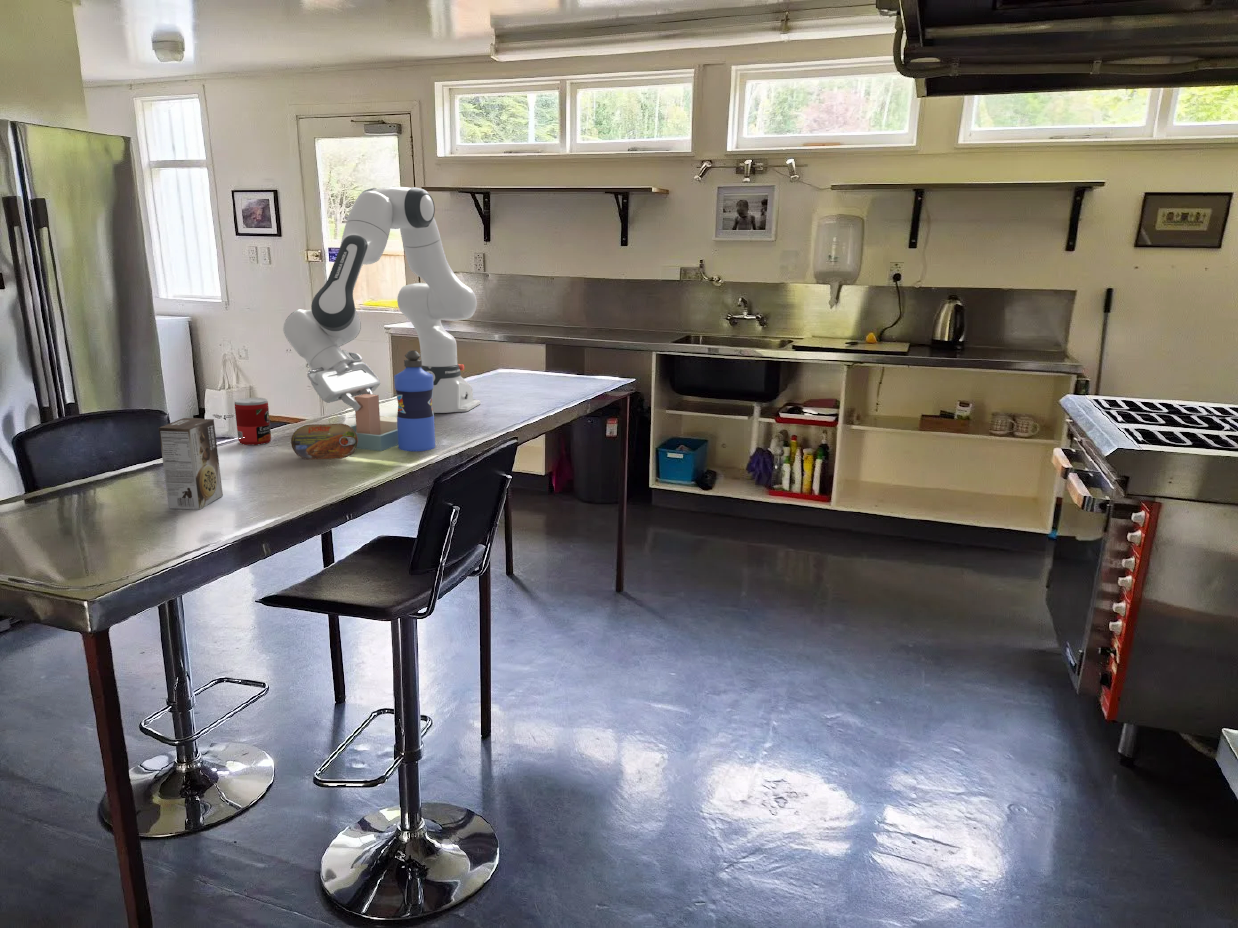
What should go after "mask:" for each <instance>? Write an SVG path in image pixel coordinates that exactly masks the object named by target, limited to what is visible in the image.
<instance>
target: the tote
mask: <svg viewBox="0 0 1238 928" xmlns="http://www.w3.org/2000/svg"><path fill="white" fill-rule="evenodd" d="M349 426H350V427H351V428H352V429H353V430H354V431H355V432H356V434H357V438H358V443H357V447H356V449H359V450H369V451H377V452H383V451H385V450H389V449H391V448H393V447H396V446H398V429H396V430H393V431H390V432H387V433H384V434H381V435H374V434H364V433H357V430H356V423H355V424H352V425H349Z"/></svg>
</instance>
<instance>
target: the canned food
mask: <svg viewBox="0 0 1238 928" xmlns="http://www.w3.org/2000/svg"><path fill="white" fill-rule="evenodd" d="M233 405H234V413H235V422H236V429H237V430H236V431H237V440H238V442H240V443H239V444H241V445H243V444H244V445H243V446H258V444H260V445H265V444H264V443H266V444H268V443H270V442H271V440H272V434H271V433H272V431H271V421H270V410H269V409H270V407H269V400H268V398H263V397H243V398H238V399H236V400H234V404H233ZM243 437H245V438H243ZM239 438H241V439H239Z"/></svg>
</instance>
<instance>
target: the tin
mask: <svg viewBox="0 0 1238 928" xmlns="http://www.w3.org/2000/svg"><path fill="white" fill-rule="evenodd" d="M350 426H351V425H348V424H345V423H321V424H320V423H318V424H317V423H316V424H315V423H314V424H305V425H302V426H300V427H299V428H297V429H296V430H295V431H294V432H293V433H292V436H291V438H290V439H291V441H290V443H291V448H292V450H293V452H294V454H296V455H297V456H298V457H300V458H301V459H304V460H309V461H311V460H312V461H313V460H314V461H315V460H335V459H337V460H338V459H345V458H349V456H351V455H352V454H354V452H355V451H356V449H357V448H356V447H357V443H358V438H357V434H356V432H355V431H354V430H353V429H352V428H351V427H350Z"/></svg>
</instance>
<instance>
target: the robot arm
mask: <svg viewBox="0 0 1238 928" xmlns="http://www.w3.org/2000/svg"><path fill="white" fill-rule="evenodd" d="M435 211H436V208H435V202H434V199H433V198H432V196H431V194H430V193H429V192H428V191H427V190H426V189H423V188H421V187H415V186H414V187H406V186H390V187H381V188H380V187H379V188H377V187H372V188H368V189H365V190H364V191H361V193H360V194H359V195H358V196H357V198H356V200H355V201H354V203H353V205H352V208H351V209H350V212H349V214H348V216H347V220H346V223H345V225H344V228H343V233H342V237H341V241H340V247H339V249H338V251H337V254H336V256H335V260H334V263H333V265H332V268H331V270H330V273H329V275H328V279H327V280H326V281H325V284H324V285H323V286H322V287H321V288H320V289H319V291H317V293H316V294H314V297H313V299H312V300H311V301H312V302H311V304H310V306H311V307H310V308H311V309H303V308H302V309H297V310H295V311H293V312H291V313H290V314H289V315H288V316H287V317H286V319H285V321H284V323H283V326H282V327H283V328H282V331H283V334H284V337H285V338H286V339H287V342H289V344H290V345H291V347H292V348H293V350H294V351H295V352H296V353H297V354H298V355H299V356H300V357H301V358H303V359H304V360H305V361H306V363H307V365H308V367H309V368H310V369H309V370H308V371H307V378H308V380H310V383H311V386H312V388H313V390H314V391H315V392H316V393H317V395H318V396H319V398H320V399H321V400H322V401H323V402H325V403H328V404H330V403H333V402H337V401H342V402H343V403H344V404H345V405H347V406H349V407H352V409H353V410H354V411H359V410H361V409H362V408H363V405H362V404H361V403H360V402H359V401H356V400H355V399H354V398H353V397H355V396H359V395H363V394H372V395H374V393H373V392H374V391H376V390H377V388H378V387H380V386H381V380H380V378H379V376H378V375H377V374H376V373H375V371H373V369H372V368H371V367H370V366H369V365H368V364H367V363H366V362H364V361H363V357H362V355H361V354H360V353H357V352H351V351H347V350H345V349H341V348H340V347H343V346H344V345H346V344H348V343H350V342H352V341H353V340H355V339H356V338H357V337H358V336H359V334H360V332H361V330H362V323H361V318H360V316H359V314H358V312H357V309H356V306H355V301H354V290H355V287H356V283H357V282H358V278H359V275H360V272H361V270H362V268H363V266H364V265H373V264H375V263H377V262H378V261H380V259H381V257H382V256H383V253H384V251H385V250H386V247H387V244H388V240H389V236H390V232H391V230H399V231H400V237H401V241H402V246H403V250H404V254H405V257H406V260H407V265H408V268H409V269H410V271H411V272H412V274H415V275H416V276H417V277H419V278H420V279H422V280H423V282H416V283H415V282H414V283H409V284H407V285H406V284H405V285H403V286H402V287H401V288H400V289H399V292H398V294H397V302H396V303H397V306H398V309H399V311H400V312H401V313H402V315H404V317H406V318H407V319H408V320H409V321H410V323H411V324H412V326H413V328H414V329H415V332H416V334H417V337H418V342H419V349H420V351H419V352H420V355H421V356H420V360H422V366H421V368H422V369H423V370H424V371H426V372H428V373H430V374H432V375H433V386H434V388H433V394H432V408H433V414H445V413H461V412H462V413H464V412H470V410H472V409H473V408H476V407H477V406H479V405H481V400H479V399H474V393H473V386H472V385H471V384H470V383H468V382H467V380H465V378H463V377H462V373H461V371H463V372H464V371H465V365H464V364H460V363H458V347H457V346H458V345H457V340H456V338H455V337H454V335H452V334H450V333H449V332H448V331H447V330H446V329H445V328H444V326H443V324H442V321H451V322H453V321H464V320H467V319H471V318H472V317H473V316H474V314H475V312H476V310H477V307H478V300H477V296H476V293H475V292H474V291H473V289H472V288H471V287H470V286H467V284H465V283H464V282H462V281H461V280H460V279H459V277H458V276H457V275H456V274H455V272H454V271H453V269H452V268H451V266H450V264H449V262H448V260H447V256H446V253H445V250H444V246H443V241H442V238H441V233H440V231H439V227H438V224H437V220H436V218H435Z"/></svg>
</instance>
